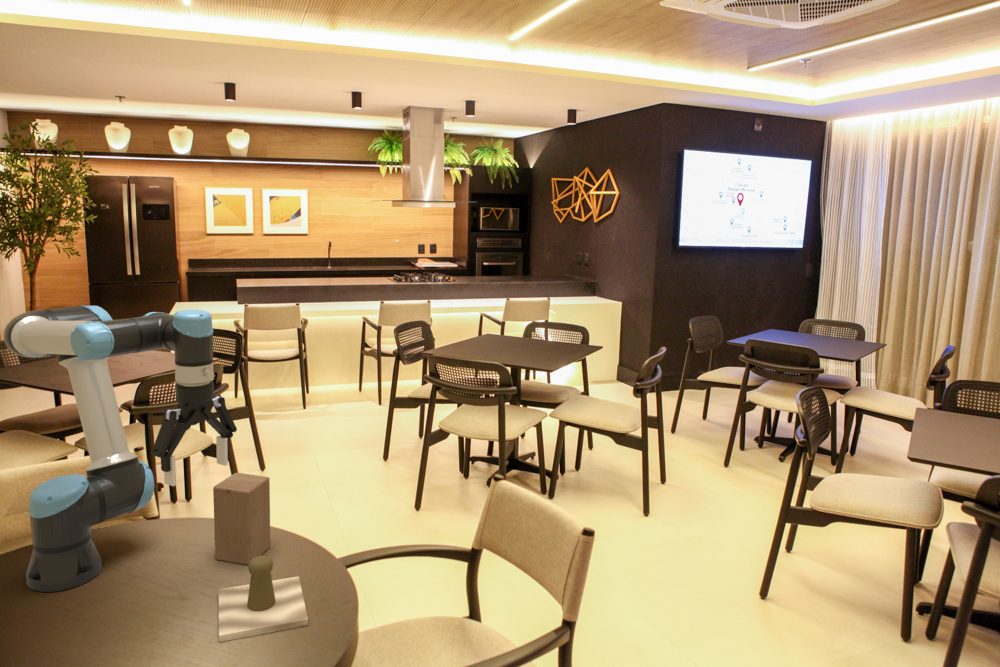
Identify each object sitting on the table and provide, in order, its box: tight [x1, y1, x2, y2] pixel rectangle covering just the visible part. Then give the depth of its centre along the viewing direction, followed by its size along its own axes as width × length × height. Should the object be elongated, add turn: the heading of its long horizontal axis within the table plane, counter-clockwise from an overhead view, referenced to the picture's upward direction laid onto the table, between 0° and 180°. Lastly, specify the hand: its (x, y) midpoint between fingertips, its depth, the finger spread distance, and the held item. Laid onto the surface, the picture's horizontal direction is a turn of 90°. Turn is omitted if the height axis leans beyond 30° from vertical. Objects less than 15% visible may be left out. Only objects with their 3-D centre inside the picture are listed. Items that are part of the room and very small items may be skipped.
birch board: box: [218, 576, 309, 643], centre depth 150 cm, size 18×18×2 cm
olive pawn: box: [247, 555, 275, 611], centre depth 149 cm, size 6×6×11 cm
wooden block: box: [212, 472, 271, 566], centre depth 171 cm, size 10×10×20 cm
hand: (197, 473), depth 148 cm, fingers open, 13 cm apart
